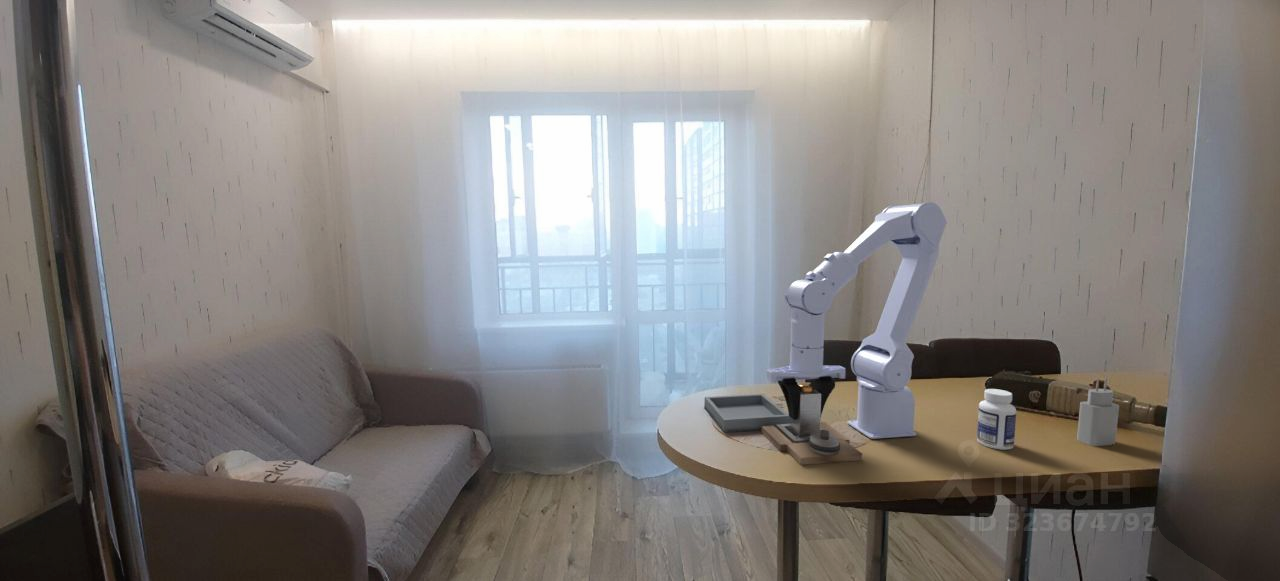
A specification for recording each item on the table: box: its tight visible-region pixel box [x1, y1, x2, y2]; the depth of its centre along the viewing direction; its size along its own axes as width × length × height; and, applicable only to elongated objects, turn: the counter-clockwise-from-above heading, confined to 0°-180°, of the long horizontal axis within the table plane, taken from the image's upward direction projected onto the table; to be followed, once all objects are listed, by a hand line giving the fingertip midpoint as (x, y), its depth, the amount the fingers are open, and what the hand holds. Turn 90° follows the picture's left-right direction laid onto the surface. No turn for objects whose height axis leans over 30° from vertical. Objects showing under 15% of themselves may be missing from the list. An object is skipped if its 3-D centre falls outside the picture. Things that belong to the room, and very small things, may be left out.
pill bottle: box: [976, 388, 1017, 451], centre depth 85 cm, size 5×5×10 cm
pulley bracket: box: [760, 421, 863, 465], centre depth 85 cm, size 13×14×4 cm
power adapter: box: [1076, 377, 1120, 447], centre depth 85 cm, size 3×5×12 cm, turn 101°
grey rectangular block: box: [789, 382, 822, 438], centre depth 87 cm, size 4×4×9 cm
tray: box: [703, 393, 790, 433], centre depth 99 cm, size 14×14×2 cm
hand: (804, 416), depth 87 cm, fingers closed on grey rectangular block, 4 cm apart
